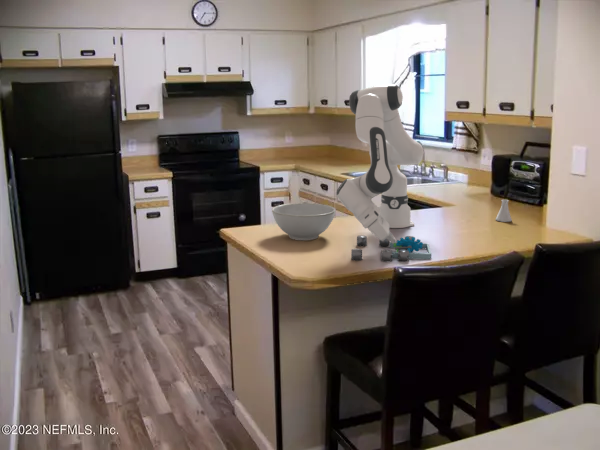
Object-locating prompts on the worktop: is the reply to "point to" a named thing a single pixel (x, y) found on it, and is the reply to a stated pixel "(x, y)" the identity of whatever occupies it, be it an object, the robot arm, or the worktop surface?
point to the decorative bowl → (303, 219)
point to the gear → (408, 244)
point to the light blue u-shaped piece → (415, 255)
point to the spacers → (385, 254)
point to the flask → (504, 212)
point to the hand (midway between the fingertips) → (394, 241)
